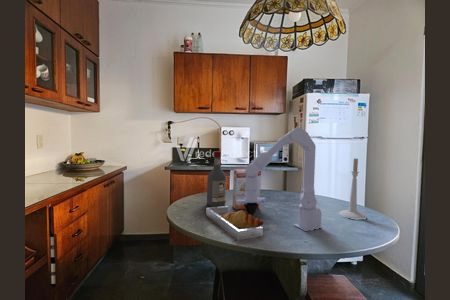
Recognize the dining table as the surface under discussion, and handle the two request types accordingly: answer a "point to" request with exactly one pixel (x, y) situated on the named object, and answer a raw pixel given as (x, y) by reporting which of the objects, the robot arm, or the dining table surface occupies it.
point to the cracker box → (241, 187)
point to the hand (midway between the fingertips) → (250, 218)
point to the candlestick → (353, 196)
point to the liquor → (216, 184)
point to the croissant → (242, 219)
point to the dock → (232, 230)
